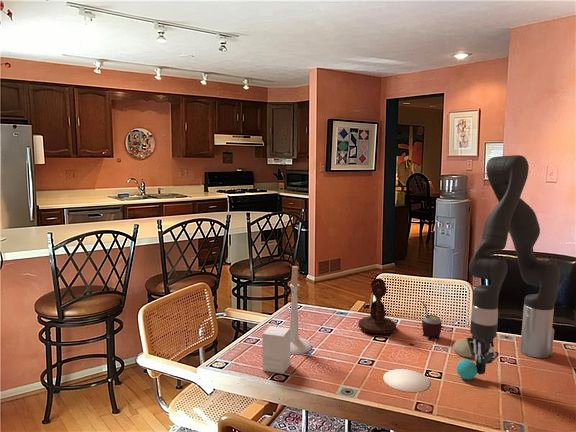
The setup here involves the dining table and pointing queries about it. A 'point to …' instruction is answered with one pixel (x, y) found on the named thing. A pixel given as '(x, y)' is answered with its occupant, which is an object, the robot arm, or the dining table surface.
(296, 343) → the candlestick
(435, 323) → the mate gourd
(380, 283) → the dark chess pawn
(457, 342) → the sea urchin shell
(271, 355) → the supplement box
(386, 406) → the dining table surface
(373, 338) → the dining table surface
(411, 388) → the white disc
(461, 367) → the ball
